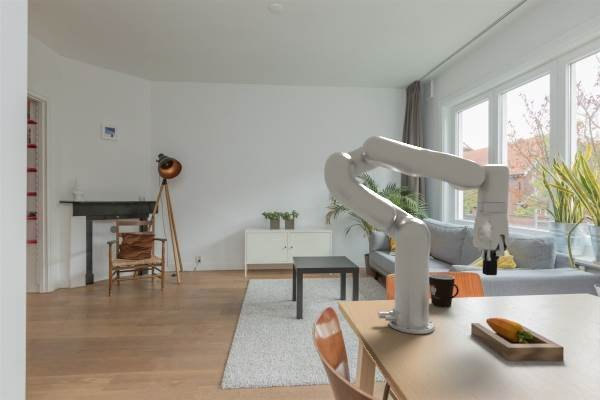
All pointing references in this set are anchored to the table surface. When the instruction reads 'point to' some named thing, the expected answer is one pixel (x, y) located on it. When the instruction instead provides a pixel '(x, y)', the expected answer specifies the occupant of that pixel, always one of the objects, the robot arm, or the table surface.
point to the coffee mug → (442, 289)
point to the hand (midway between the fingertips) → (489, 274)
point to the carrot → (509, 330)
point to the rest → (519, 345)
